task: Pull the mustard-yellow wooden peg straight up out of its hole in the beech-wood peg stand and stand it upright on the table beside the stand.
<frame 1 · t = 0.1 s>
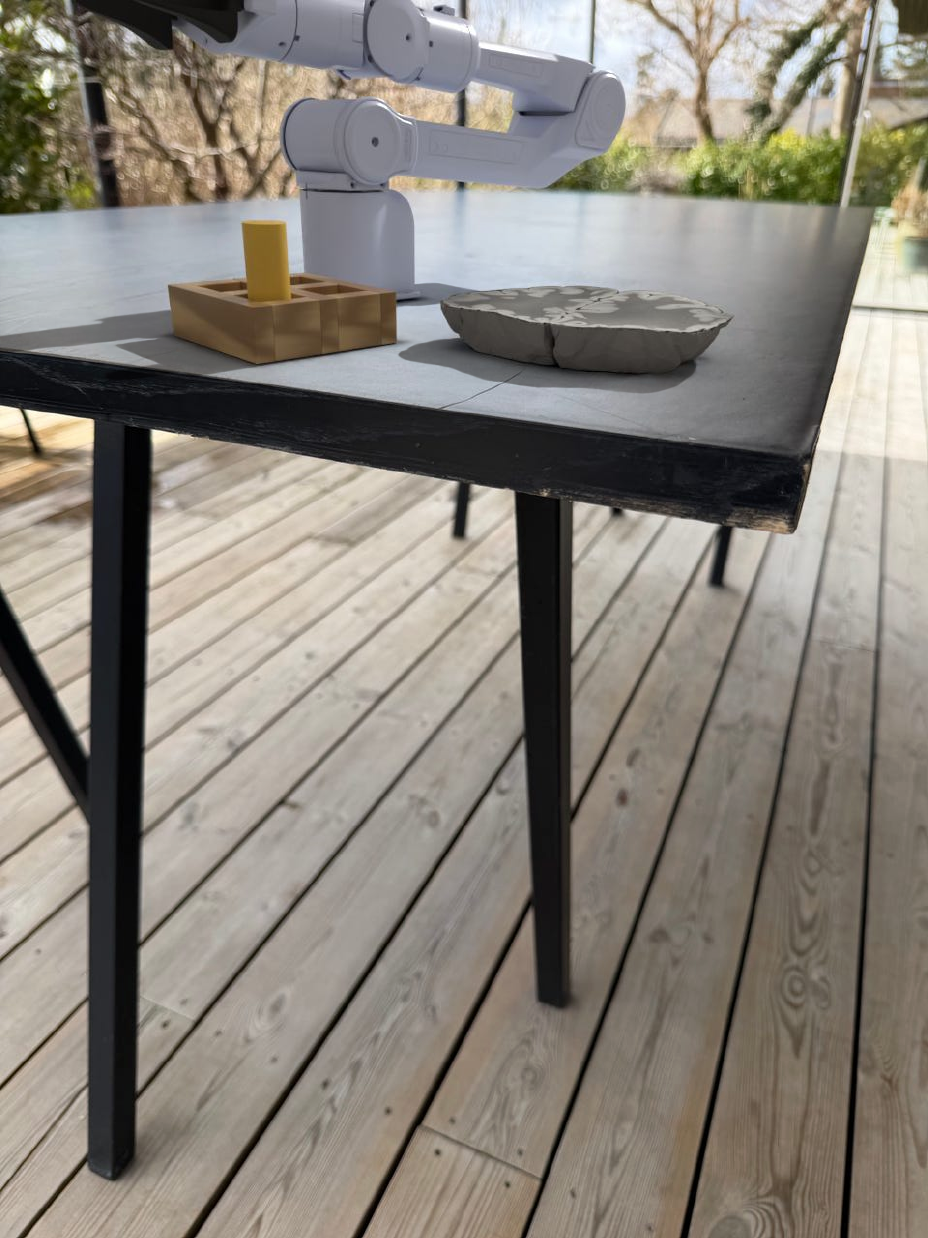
yellow peg: (273, 349, 62), resting in stand
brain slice: (585, 350, 65), on the table
stand: (285, 339, 65), on the table
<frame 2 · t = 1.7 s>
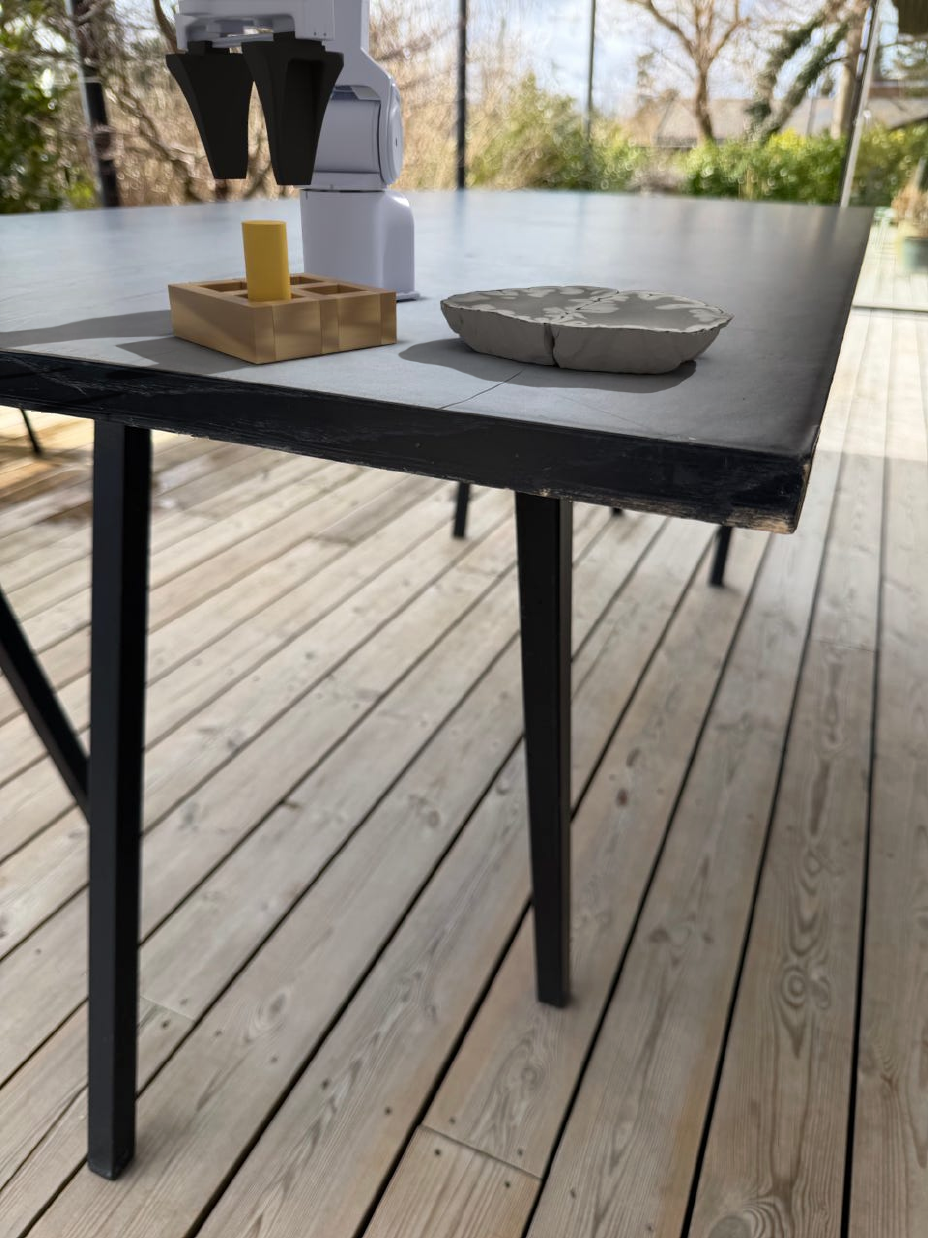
hand: (260, 182, 57), 10 cm above the table, tool pointing down, fingers open, 7 cm apart
nothing on the table moved.
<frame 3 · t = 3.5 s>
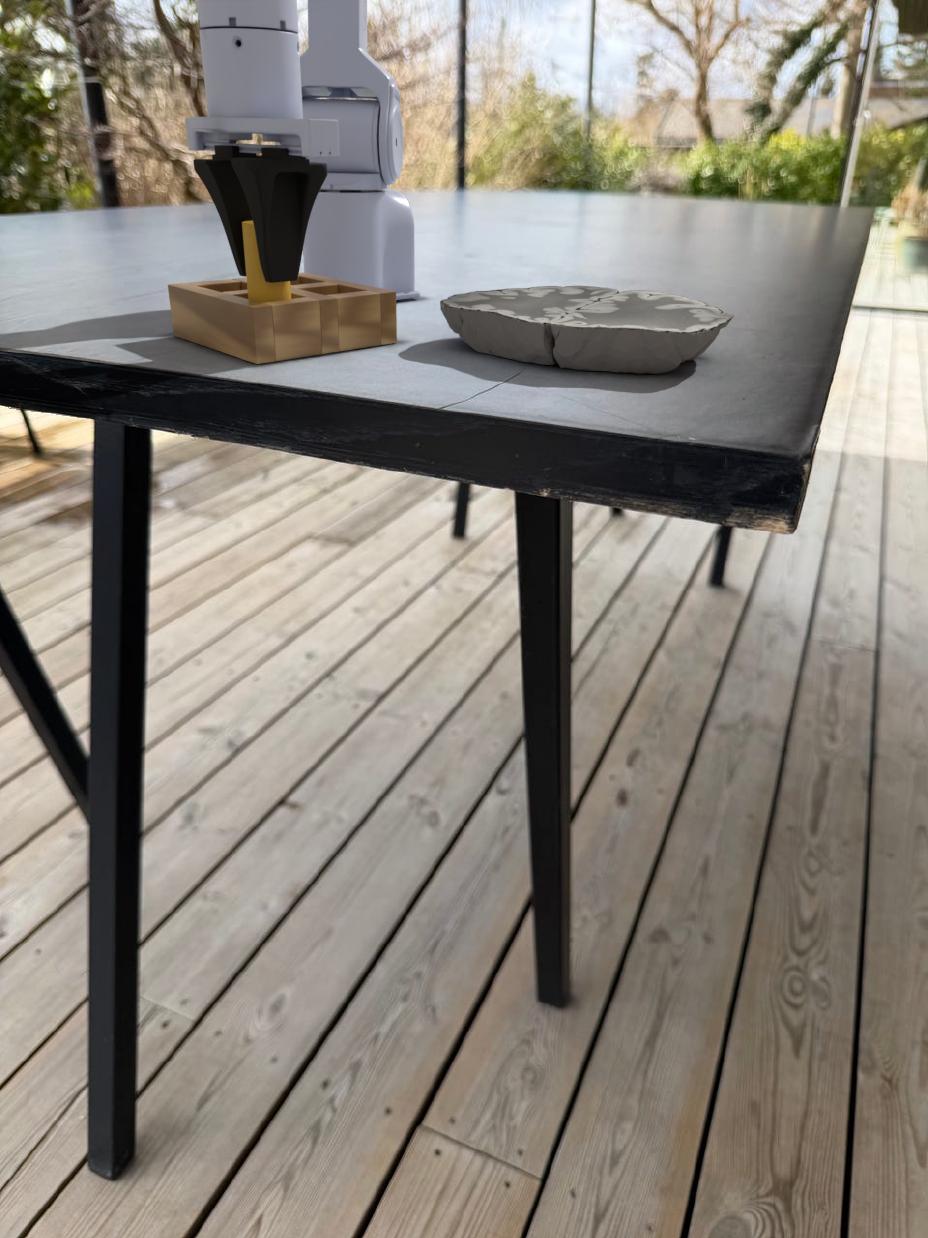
hand: (268, 277, 60), 5 cm above the table, tool pointing down, fingers closed on yellow peg, 3 cm apart
yellow peg: (273, 349, 62), resting in stand, touching gripper
everything else where it was.
when the fingers open (5 cm above the table, at t = 8.9 s): yellow peg stays where it is, on the table.
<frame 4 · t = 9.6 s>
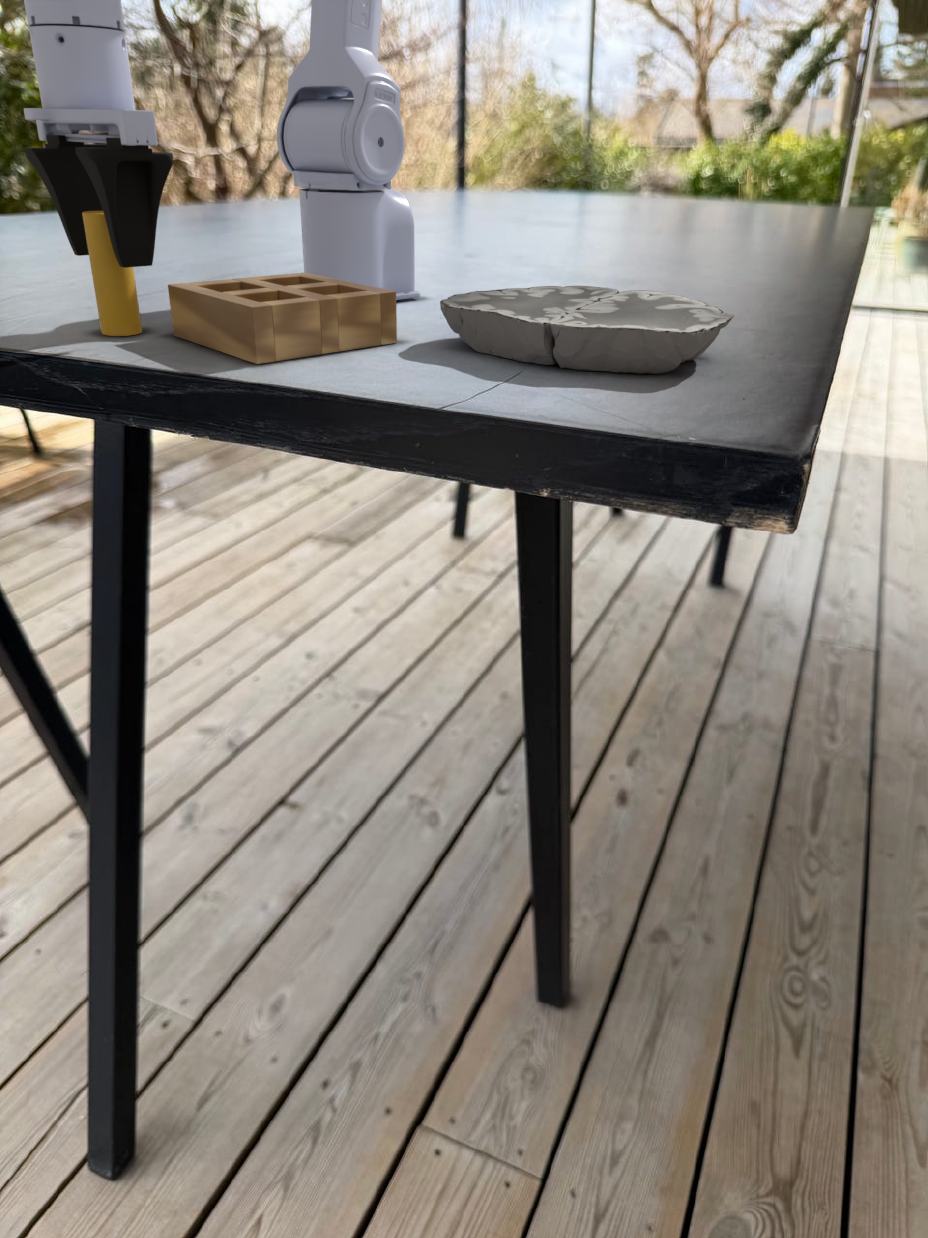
hand: (112, 260, 64), 5 cm above the table, tool pointing down, fingers open, 7 cm apart
yellow peg: (122, 332, 66), on the table
everything else where it was.
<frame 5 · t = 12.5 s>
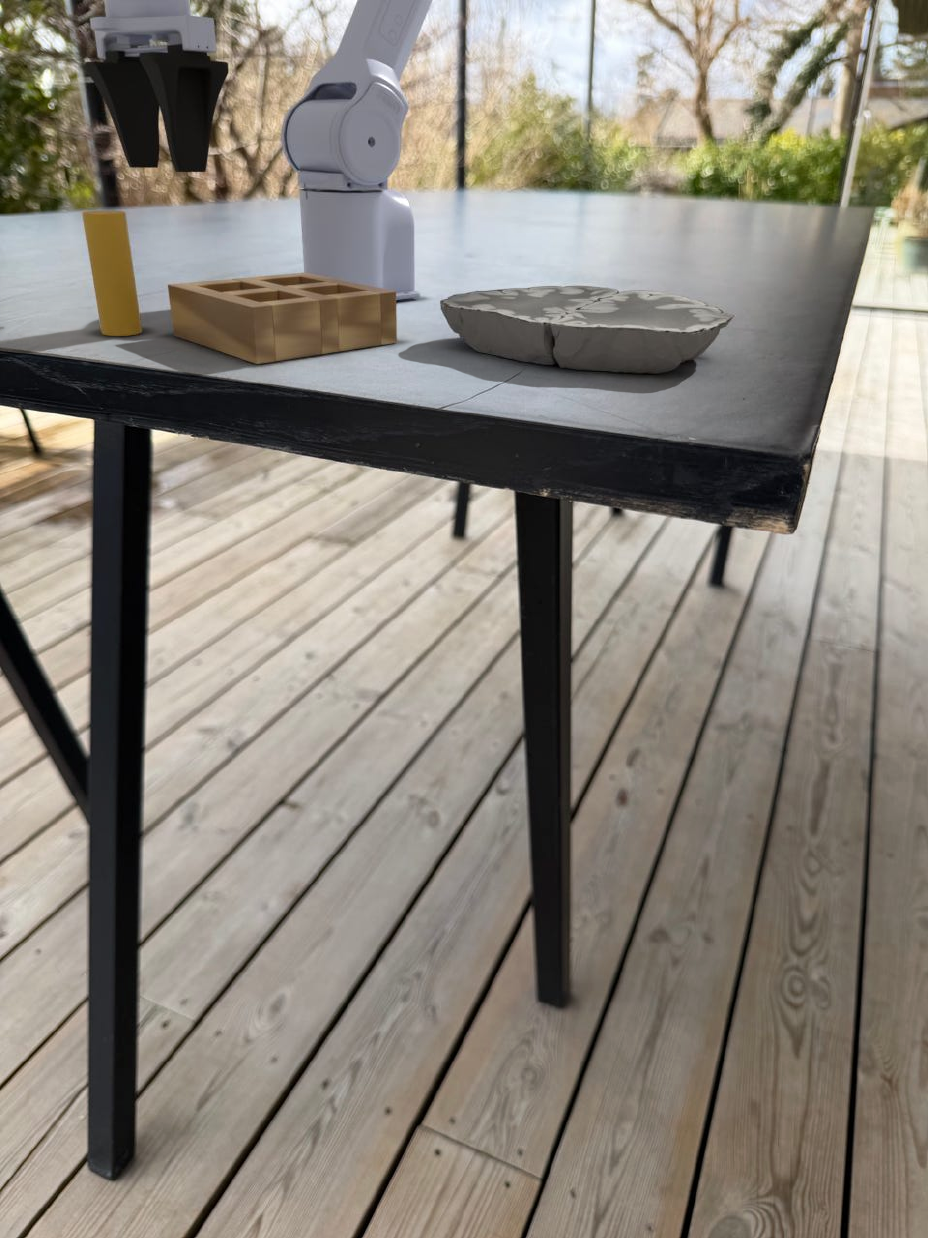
hand: (166, 169, 68), 10 cm above the table, tool pointing down, fingers open, 7 cm apart
nothing on the table moved.
at the end: yellow peg 0.1 cm from the target spot, on the table; yellow peg tilted 0°; yellow peg touching table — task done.
